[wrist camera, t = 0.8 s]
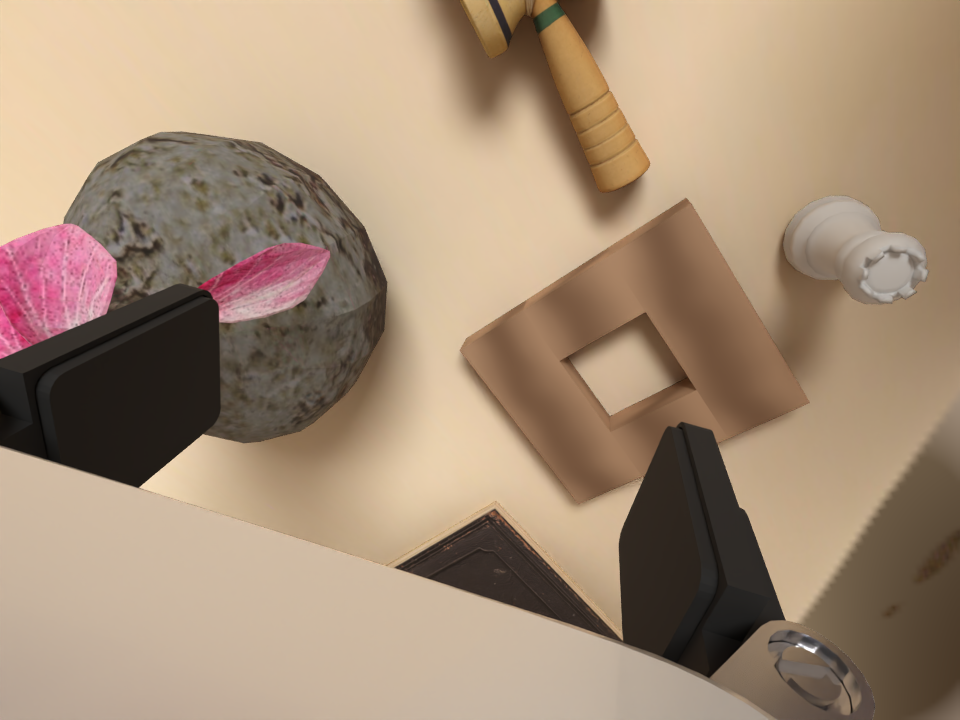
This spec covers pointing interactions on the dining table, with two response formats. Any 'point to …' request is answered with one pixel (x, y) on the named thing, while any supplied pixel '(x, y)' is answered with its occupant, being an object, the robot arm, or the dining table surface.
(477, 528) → the hardcover book
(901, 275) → the rook chess piece
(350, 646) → the robot arm
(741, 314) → the board
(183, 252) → the vase
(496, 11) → the kendama
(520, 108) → the dining table surface
